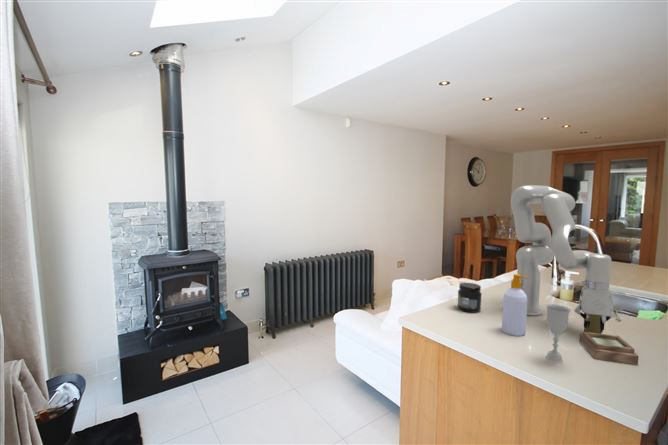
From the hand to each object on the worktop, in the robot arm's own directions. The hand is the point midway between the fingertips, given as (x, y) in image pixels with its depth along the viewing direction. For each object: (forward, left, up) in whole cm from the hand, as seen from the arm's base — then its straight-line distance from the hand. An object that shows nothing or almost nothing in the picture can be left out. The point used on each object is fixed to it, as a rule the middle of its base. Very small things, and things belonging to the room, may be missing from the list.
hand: (593, 330), depth 132 cm
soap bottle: (-29, -7, -3) cm, 30 cm away
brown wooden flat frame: (-1, -15, -2) cm, 15 cm away
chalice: (-20, -27, -3) cm, 34 cm away
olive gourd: (0, 0, -3) cm, 3 cm away
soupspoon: (+20, +33, -3) cm, 39 cm away
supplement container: (-45, +15, -3) cm, 48 cm away
